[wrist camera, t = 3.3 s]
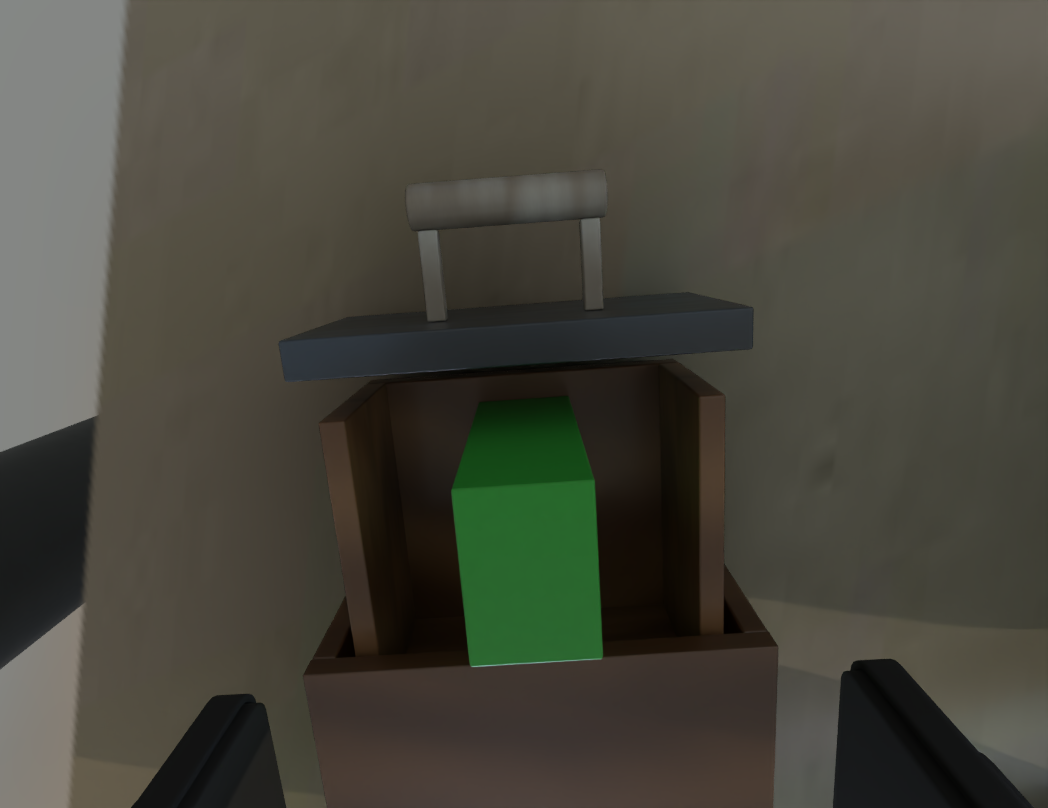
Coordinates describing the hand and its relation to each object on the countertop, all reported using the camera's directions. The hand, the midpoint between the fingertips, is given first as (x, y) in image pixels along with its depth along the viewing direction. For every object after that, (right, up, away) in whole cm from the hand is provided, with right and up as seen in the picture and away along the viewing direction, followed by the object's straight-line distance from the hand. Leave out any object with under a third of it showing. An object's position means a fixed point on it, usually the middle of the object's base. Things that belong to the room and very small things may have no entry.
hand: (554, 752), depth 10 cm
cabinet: (0, -7, +19) cm, 20 cm away
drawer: (0, +5, +15) cm, 16 cm away
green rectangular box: (0, +3, +14) cm, 15 cm away
